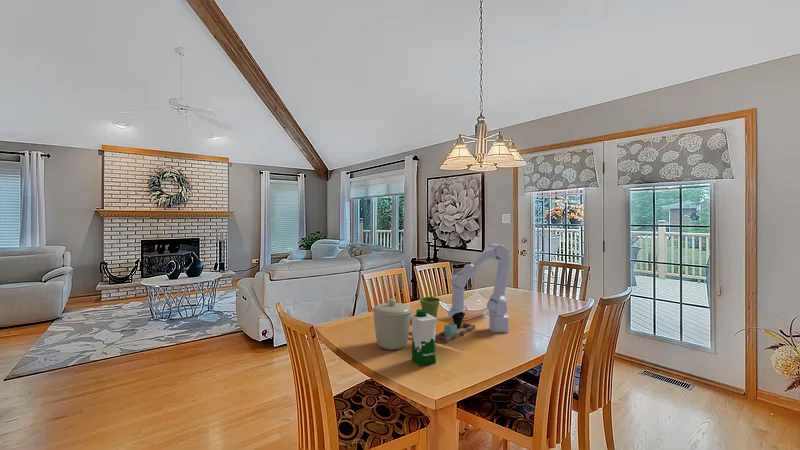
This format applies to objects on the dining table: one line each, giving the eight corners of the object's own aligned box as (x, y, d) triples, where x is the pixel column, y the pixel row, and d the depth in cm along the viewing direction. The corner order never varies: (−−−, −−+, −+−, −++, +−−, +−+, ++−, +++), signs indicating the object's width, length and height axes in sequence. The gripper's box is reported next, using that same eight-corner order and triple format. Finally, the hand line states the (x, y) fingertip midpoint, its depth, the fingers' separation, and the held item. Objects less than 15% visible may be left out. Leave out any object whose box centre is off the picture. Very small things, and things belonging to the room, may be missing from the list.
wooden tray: (461, 327, 187) (462, 322, 187) (476, 331, 182) (476, 325, 182) (433, 341, 167) (433, 334, 167) (448, 345, 162) (448, 339, 162)
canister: (366, 341, 167) (366, 296, 166) (402, 336, 174) (402, 292, 173) (380, 356, 150) (380, 305, 149) (419, 349, 157) (419, 301, 156)
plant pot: (415, 317, 205) (415, 297, 204) (433, 315, 210) (433, 295, 209) (425, 323, 194) (425, 302, 194) (444, 320, 199) (444, 300, 199)
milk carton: (427, 355, 151) (427, 307, 150) (439, 363, 143) (439, 313, 142) (408, 359, 147) (409, 310, 146) (420, 367, 139) (420, 316, 138)
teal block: (449, 334, 174) (450, 322, 174) (456, 336, 172) (456, 324, 171) (444, 336, 170) (444, 325, 170) (451, 338, 168) (451, 327, 168)
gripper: (458, 295, 183) (458, 322, 184) (442, 301, 172) (442, 329, 173) (471, 298, 179) (470, 325, 179) (455, 303, 168) (455, 332, 168)
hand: (457, 327), depth 176 cm, fingers closed
